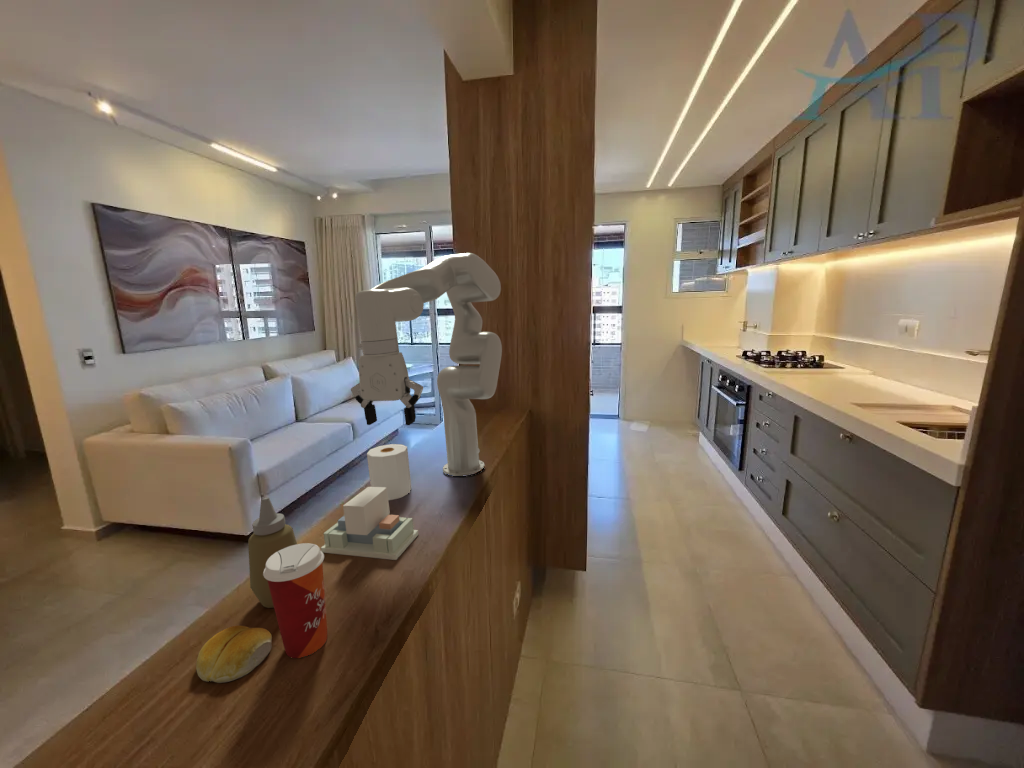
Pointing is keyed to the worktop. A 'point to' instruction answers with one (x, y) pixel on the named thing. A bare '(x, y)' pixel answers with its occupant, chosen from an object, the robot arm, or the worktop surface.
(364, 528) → the block
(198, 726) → the worktop surface
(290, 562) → the paper cup
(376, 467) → the toilet paper
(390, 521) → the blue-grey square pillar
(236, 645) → the bread roll
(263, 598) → the squeeze bottle
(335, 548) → the jig
